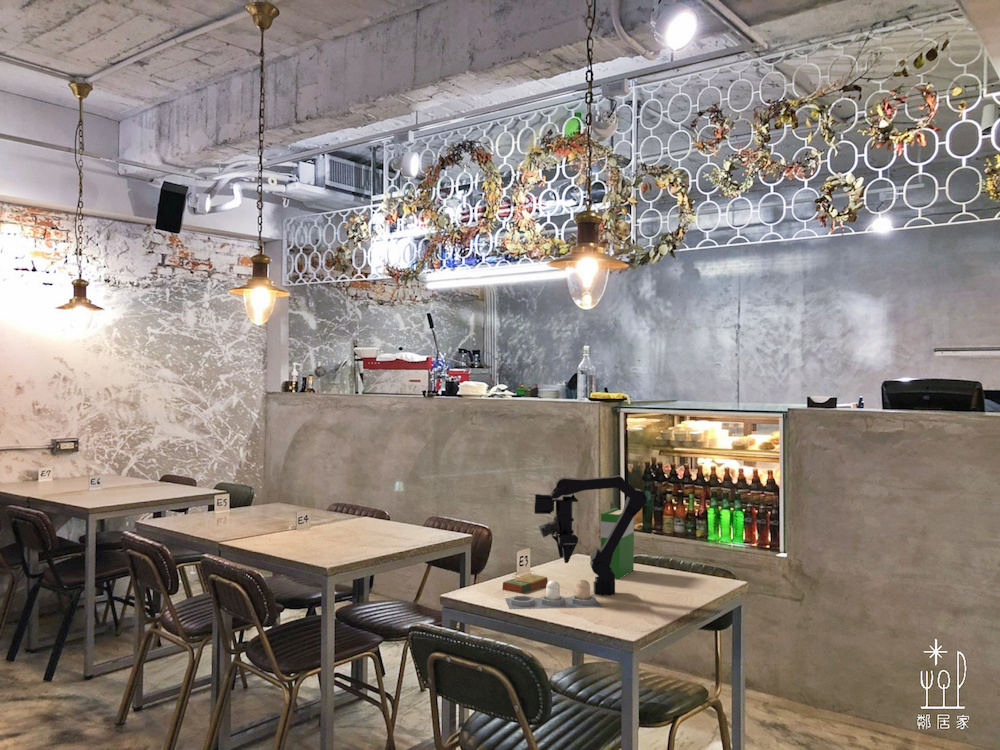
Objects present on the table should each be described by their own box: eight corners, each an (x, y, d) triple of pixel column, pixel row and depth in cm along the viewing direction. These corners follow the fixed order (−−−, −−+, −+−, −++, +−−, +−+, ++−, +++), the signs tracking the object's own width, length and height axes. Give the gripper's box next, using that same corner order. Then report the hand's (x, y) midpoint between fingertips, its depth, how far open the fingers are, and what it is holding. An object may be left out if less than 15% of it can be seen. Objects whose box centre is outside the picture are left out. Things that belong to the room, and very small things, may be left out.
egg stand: (593, 599, 261) (593, 592, 261) (602, 610, 248) (602, 602, 248) (504, 601, 258) (504, 593, 258) (509, 612, 245) (509, 604, 245)
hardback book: (615, 568, 310) (615, 507, 311) (633, 570, 307) (633, 509, 307) (600, 577, 294) (600, 513, 295) (619, 579, 291) (619, 515, 292)
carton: (548, 588, 277) (548, 576, 277) (521, 597, 265) (521, 585, 265) (529, 584, 282) (529, 573, 283) (501, 593, 270) (502, 581, 270)
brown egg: (588, 600, 257) (588, 578, 257) (591, 603, 252) (591, 581, 253) (575, 600, 256) (575, 578, 257) (577, 604, 252) (578, 581, 252)
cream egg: (558, 600, 256) (558, 578, 256) (560, 604, 251) (560, 581, 252) (545, 601, 255) (545, 578, 256) (547, 604, 251) (547, 582, 251)
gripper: (536, 510, 276) (536, 554, 275) (545, 518, 257) (545, 566, 257) (567, 510, 277) (567, 554, 277) (578, 518, 259) (578, 565, 258)
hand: (563, 560), depth 267 cm, fingers open, 9 cm apart
